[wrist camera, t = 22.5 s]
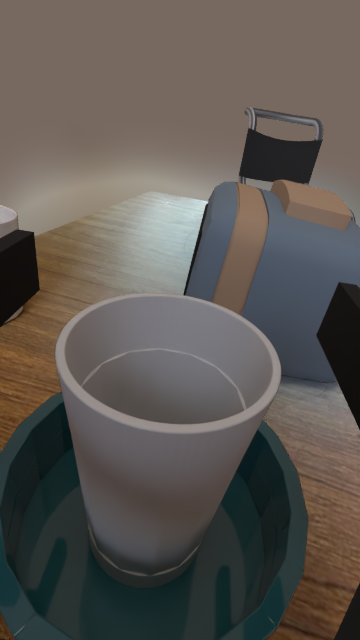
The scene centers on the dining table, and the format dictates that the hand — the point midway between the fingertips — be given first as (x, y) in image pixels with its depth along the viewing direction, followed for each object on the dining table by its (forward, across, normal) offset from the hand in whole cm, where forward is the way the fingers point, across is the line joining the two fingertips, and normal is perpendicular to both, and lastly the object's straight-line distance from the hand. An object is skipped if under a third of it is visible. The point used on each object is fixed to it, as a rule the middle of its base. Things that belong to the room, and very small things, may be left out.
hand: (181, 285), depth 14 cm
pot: (-3, 0, -13) cm, 14 cm away
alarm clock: (+19, +8, -13) cm, 24 cm away
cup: (-3, 0, -13) cm, 13 cm away
